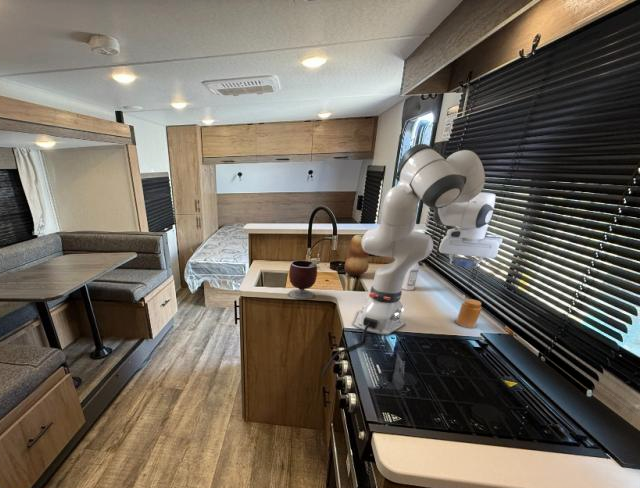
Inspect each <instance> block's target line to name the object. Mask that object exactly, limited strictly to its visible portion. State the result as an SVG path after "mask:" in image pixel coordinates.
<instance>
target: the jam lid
mask: <svg viewBox="0 0 640 488" xmlns="http://www.w3.org/2000/svg"><path fill="white" fill-rule="evenodd" d="M453 260H454V264H453V265H455V266H457V267H461V268H474V267H473V265H474V262H476V261H475V259H472V258H468V257H455V258H454V259H453Z"/></svg>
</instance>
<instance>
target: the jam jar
mask: <svg viewBox="0 0 640 488" xmlns="http://www.w3.org/2000/svg"><path fill="white" fill-rule="evenodd" d="M481 306H482V302H481V301H480V300H477V299H472V298H466V299H464V301H463V302H462V303H461V305H460V308H459V310H458V315H457V318H456V321H455V322H456V324H457V325H458V326H461V327H464V328H469V329H473V328H475V327H476V326H477V323H478V319H479V318H480V314H481V311H482V309H483V308H482V307H481Z"/></svg>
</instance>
